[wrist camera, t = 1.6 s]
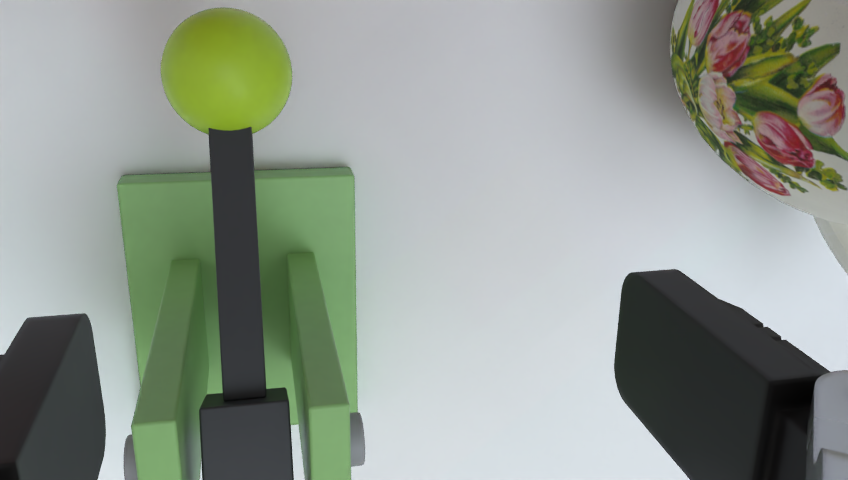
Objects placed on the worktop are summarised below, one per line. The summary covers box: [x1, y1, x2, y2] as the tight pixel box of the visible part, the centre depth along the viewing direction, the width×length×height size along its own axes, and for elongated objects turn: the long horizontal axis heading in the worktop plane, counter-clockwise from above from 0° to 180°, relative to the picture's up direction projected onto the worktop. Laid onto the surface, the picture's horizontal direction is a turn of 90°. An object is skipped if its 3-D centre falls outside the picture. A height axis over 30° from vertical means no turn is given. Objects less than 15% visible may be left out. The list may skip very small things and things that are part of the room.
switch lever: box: [161, 8, 294, 480], centre depth 21 cm, size 13×3×3 cm, turn 179°
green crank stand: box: [117, 167, 365, 480], centre depth 25 cm, size 10×8×12 cm
